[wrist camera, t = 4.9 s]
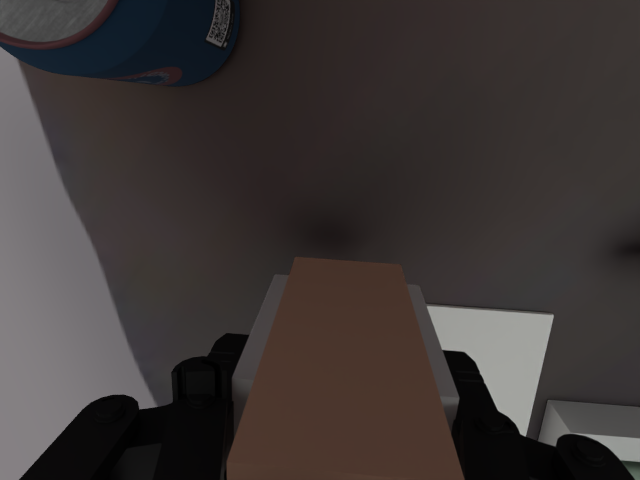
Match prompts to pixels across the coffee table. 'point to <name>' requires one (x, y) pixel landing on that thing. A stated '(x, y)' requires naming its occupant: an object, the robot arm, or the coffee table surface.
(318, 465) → the block with dark dome
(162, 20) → the soda can
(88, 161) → the coffee table surface
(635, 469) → the button
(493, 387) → the paper
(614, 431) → the button housing
